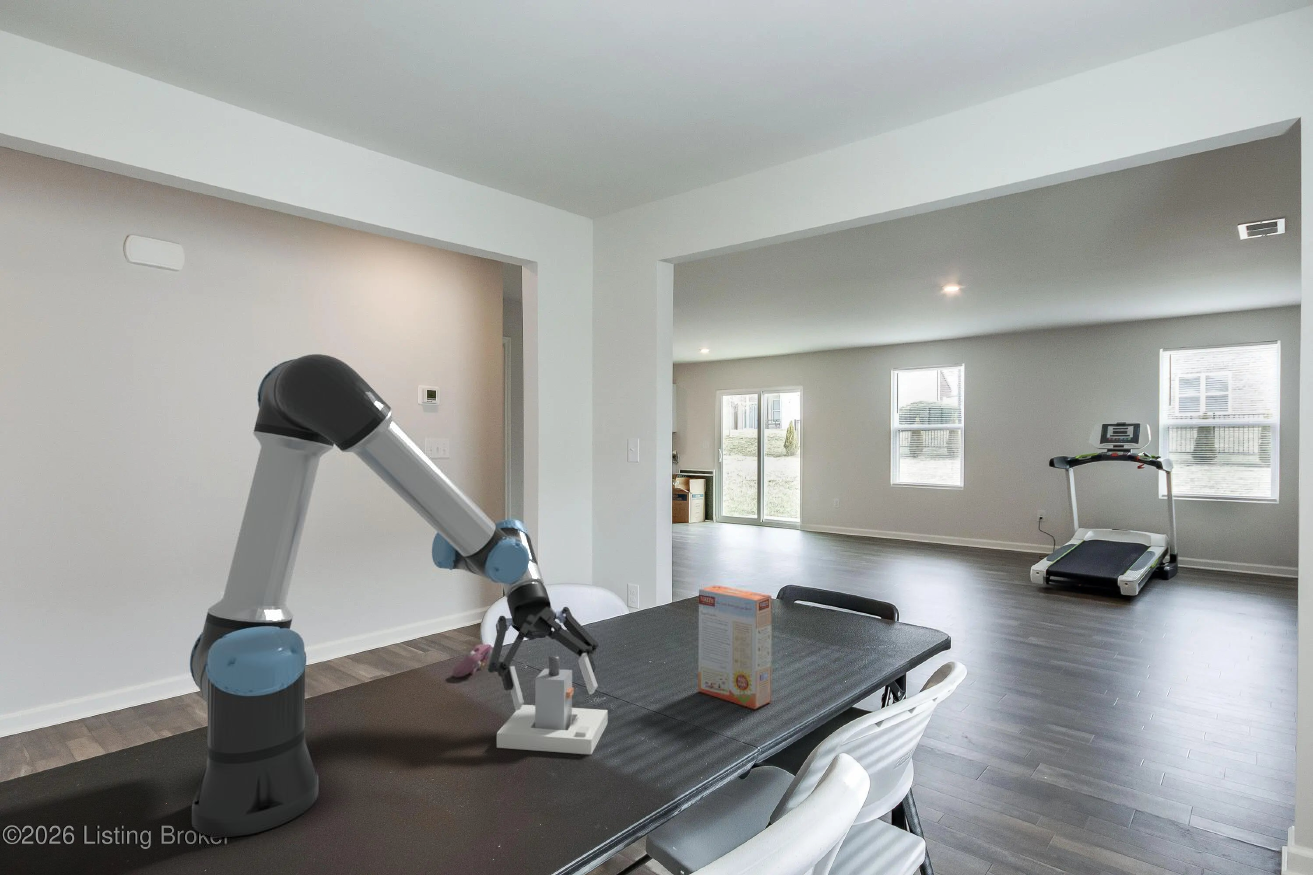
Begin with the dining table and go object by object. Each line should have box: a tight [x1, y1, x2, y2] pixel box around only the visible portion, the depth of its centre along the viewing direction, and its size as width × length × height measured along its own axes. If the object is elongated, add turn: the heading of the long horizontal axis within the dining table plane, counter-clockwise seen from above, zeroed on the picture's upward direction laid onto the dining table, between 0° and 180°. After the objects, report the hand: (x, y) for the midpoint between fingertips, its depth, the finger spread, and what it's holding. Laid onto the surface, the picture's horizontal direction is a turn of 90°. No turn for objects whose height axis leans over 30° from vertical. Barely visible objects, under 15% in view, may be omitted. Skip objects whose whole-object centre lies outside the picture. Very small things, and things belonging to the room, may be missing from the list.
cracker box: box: [697, 584, 772, 710], centre depth 135 cm, size 14×6×21 cm, turn 47°
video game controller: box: [452, 642, 494, 679], centre depth 149 cm, size 10×5×7 cm, turn 170°
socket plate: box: [496, 704, 609, 755], centre depth 117 cm, size 16×12×3 cm
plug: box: [534, 654, 575, 730], centre depth 117 cm, size 6×5×13 cm
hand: (557, 698), depth 116 cm, fingers open, 13 cm apart
